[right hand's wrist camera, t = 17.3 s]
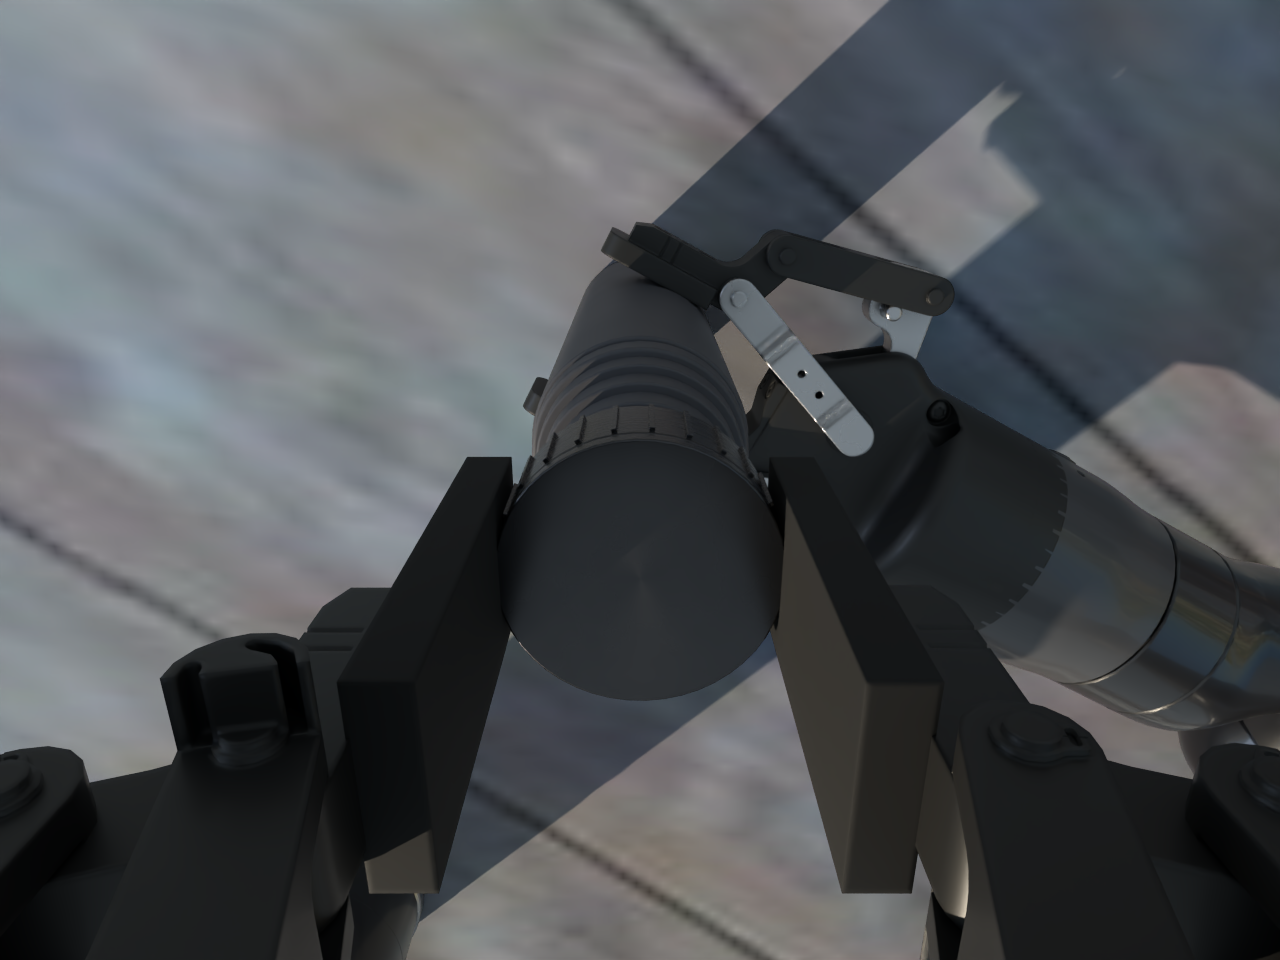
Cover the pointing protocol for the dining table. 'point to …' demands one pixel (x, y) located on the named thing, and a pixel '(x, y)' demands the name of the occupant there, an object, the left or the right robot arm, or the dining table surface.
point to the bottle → (638, 359)
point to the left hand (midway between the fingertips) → (569, 319)
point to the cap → (640, 554)
